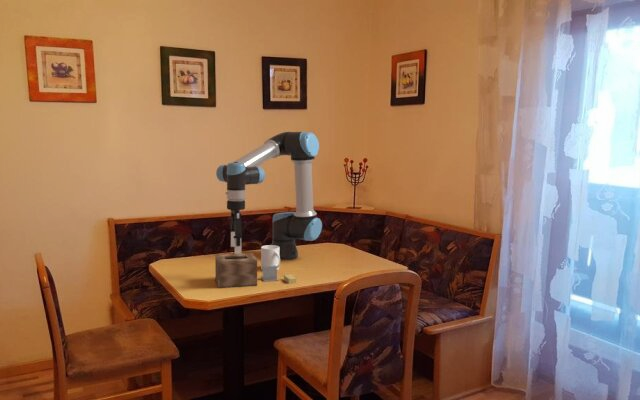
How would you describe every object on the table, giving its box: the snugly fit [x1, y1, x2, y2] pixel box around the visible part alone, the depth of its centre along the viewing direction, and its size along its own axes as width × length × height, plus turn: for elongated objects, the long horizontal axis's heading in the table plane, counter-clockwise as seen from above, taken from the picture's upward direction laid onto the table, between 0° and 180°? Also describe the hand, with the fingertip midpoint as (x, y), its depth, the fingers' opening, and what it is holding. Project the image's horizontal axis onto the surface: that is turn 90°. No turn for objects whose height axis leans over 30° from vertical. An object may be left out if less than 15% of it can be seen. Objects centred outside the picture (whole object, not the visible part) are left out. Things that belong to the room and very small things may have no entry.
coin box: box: [214, 252, 258, 289], centre depth 219 cm, size 16×13×11 cm
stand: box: [260, 266, 279, 282], centre depth 226 cm, size 6×6×6 cm
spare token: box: [283, 273, 297, 285], centre depth 223 cm, size 7×3×2 cm, turn 21°
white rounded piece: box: [260, 244, 281, 271], centre depth 241 cm, size 9×12×11 cm
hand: (235, 250), depth 218 cm, fingers open, 13 cm apart
